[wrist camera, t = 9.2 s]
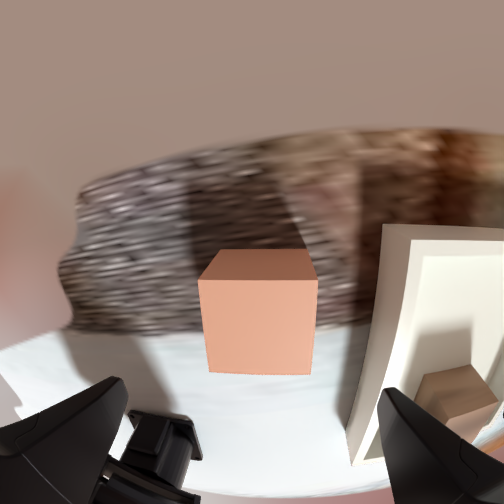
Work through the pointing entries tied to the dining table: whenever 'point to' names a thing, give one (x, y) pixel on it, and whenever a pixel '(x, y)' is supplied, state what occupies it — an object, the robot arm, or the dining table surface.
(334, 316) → the dining table surface
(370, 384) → the tray
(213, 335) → the terracotta block
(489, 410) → the walnut block
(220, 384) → the dining table surface
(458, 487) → the robot arm
